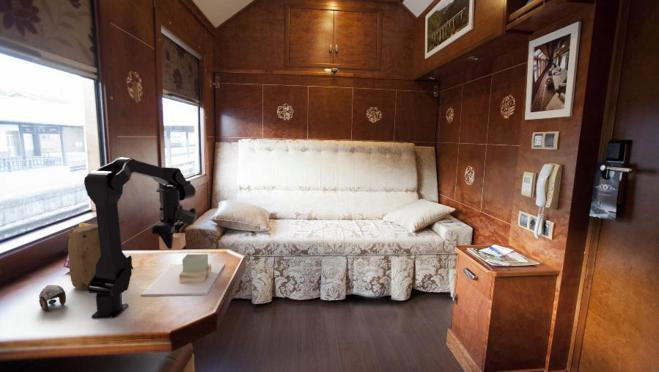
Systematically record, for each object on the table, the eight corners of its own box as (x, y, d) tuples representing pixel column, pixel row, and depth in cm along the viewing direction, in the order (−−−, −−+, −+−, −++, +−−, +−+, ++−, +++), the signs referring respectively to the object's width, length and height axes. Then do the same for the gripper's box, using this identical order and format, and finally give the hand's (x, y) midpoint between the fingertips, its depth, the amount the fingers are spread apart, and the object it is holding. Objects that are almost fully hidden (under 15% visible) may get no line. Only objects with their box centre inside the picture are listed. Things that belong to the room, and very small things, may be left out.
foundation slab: (204, 282, 109) (203, 274, 108) (179, 283, 108) (179, 274, 108) (211, 271, 118) (211, 263, 117) (188, 272, 117) (188, 264, 116)
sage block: (204, 271, 110) (203, 259, 110) (182, 272, 109) (182, 259, 109) (208, 266, 115) (207, 254, 114) (187, 266, 114) (187, 254, 114)
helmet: (61, 305, 96) (53, 283, 96) (75, 300, 92) (67, 277, 92) (37, 315, 90) (29, 292, 90) (51, 310, 87) (42, 286, 87)
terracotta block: (180, 249, 112) (180, 237, 112) (159, 249, 112) (159, 237, 111) (185, 244, 117) (185, 233, 117) (165, 245, 117) (165, 233, 116)
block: (82, 293, 100) (76, 231, 97) (68, 288, 104) (63, 228, 101) (117, 280, 110) (113, 223, 107) (104, 275, 113) (99, 220, 110)
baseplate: (207, 294, 102) (207, 293, 102) (140, 296, 100) (140, 294, 100) (224, 265, 125) (224, 263, 125) (171, 265, 123) (171, 264, 123)
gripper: (185, 209, 104) (187, 255, 106) (202, 198, 122) (203, 237, 124) (149, 209, 103) (152, 255, 105) (172, 198, 121) (173, 238, 123)
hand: (172, 246), depth 115 cm, fingers closed on terracotta block, 5 cm apart
